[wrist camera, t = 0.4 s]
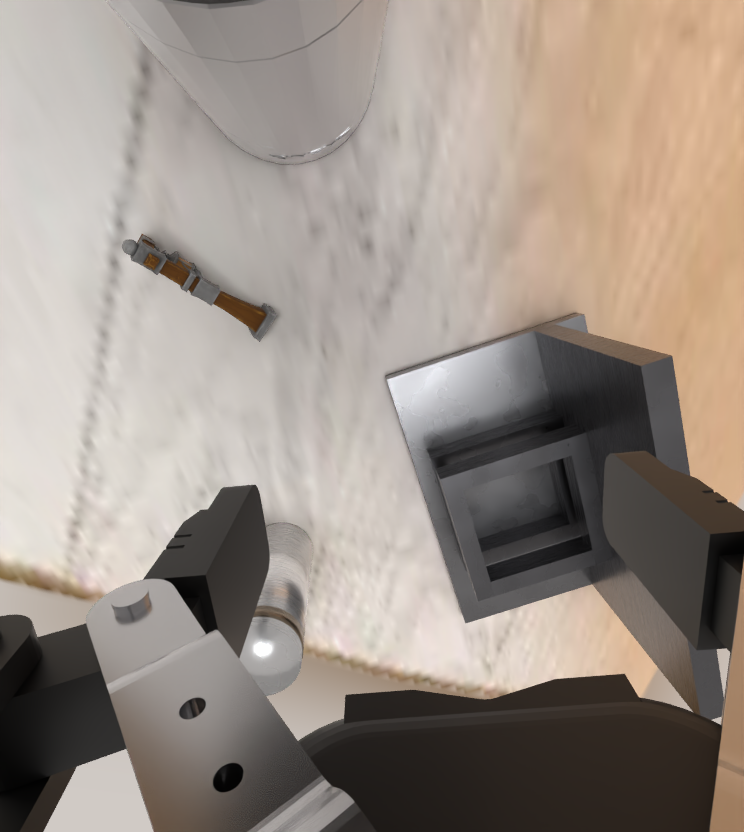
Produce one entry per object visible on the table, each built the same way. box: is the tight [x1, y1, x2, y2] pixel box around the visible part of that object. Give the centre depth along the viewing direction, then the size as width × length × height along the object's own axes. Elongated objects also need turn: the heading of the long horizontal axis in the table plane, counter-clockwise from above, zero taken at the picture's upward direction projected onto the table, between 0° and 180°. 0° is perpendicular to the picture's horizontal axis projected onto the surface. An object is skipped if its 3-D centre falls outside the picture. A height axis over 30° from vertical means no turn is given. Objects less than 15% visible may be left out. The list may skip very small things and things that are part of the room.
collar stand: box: [385, 313, 724, 720], centre depth 27 cm, size 18×12×12 cm, turn 18°
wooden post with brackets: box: [122, 234, 277, 342], centre depth 28 cm, size 2×8×4 cm, turn 55°
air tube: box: [239, 523, 313, 696], centre depth 29 cm, size 4×4×10 cm
